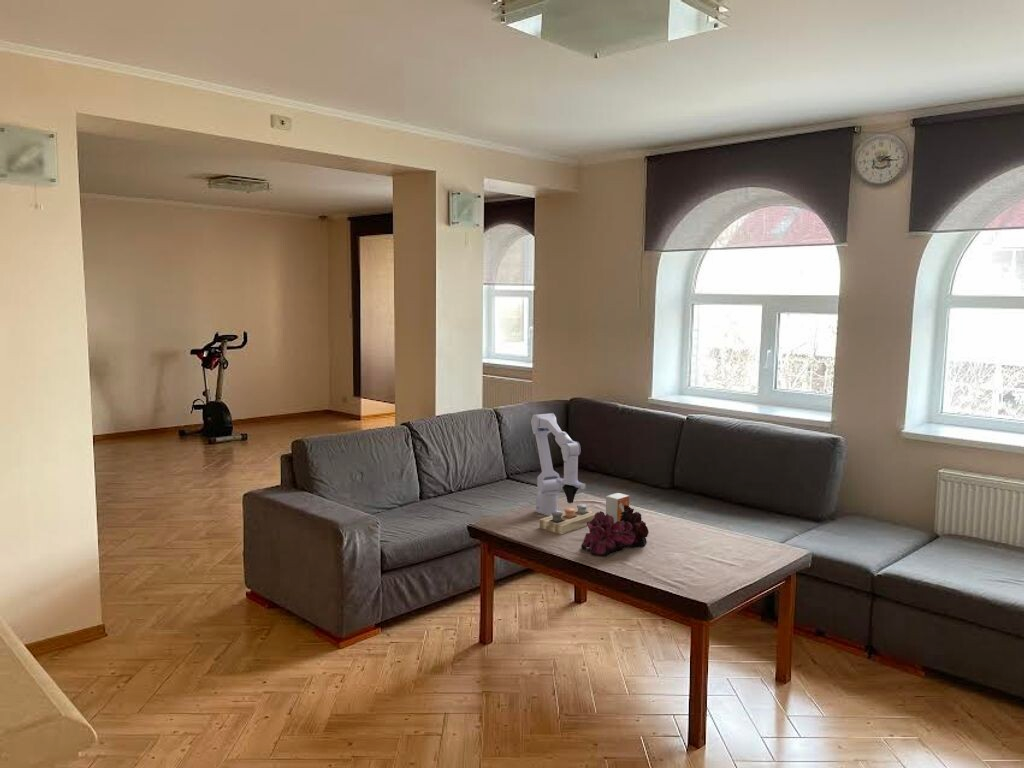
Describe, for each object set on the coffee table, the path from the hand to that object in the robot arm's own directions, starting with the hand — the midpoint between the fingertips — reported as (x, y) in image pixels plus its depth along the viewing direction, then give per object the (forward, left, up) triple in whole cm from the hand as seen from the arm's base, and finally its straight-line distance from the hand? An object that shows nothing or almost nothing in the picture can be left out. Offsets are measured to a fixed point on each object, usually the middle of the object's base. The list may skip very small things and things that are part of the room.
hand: (570, 502), depth 311 cm
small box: (+15, +13, -10) cm, 22 cm away
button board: (0, 0, -9) cm, 9 cm away
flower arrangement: (+30, -7, -10) cm, 32 cm away
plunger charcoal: (0, -8, -6) cm, 10 cm away
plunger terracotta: (0, 0, -6) cm, 6 cm away
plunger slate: (0, +8, -6) cm, 10 cm away
